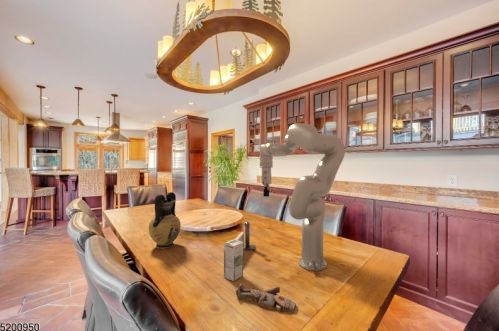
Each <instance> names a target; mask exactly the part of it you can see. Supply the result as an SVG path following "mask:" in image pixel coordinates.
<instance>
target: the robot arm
mask: <svg viewBox="0 0 499 331" xmlns="http://www.w3.org/2000/svg"><path fill="white" fill-rule="evenodd" d="M286 133H287V134H286V135H285V136H284V142H283V143H281V142H267V143H264V144H261V145H260V146H259V168H261V184H262V186H263V193H262V194H263V197H266V198H267V197H270V185H271V184H272V169H273V165H274V164H273V162H274V161H273V159H274V158H273V157H287V156H289V155H292V154H294V153H295V151H296V150H297V149H299V148H300V149H301V150H303V151H304V152H306V153H307V154H314V155H315V154H317V155H323V157H322V158H321V159H320V160H319V161H318V163H317V165H316V168H315V171H314V172H313V174H312V175H304V176H301V177H300V178H299V179H298V180H297V181H296V183H295V186H294V189H293V191H292V195H291V198H290V200H289V204H288V212H289V215H290V216H291V218H293V219H295V220H302V224H301V257H300V258H298V265H299V266H300V267H301V268H302V269H304V270H308V271H315V272H316V271H323V270H325V269H327V267H328V263H327V261H326V260H325V259H324V220H325V215H326V210H327V207H326V203H325V201H324V199H323V198H322V197H325V196H327V195H328V194H329V193H330V190H331V189H332V186H333V184H334V181H335V179H336V176H337V173H338V171H339V169H340V167H341V165H342V162H343V161H344V158H345V156H346V155H345V153H346V148H345V144H344V142H343V141H342V139H341V138H340V137H338V136H337V135H334V134H330V133H319V131H318V128H317V127H315V126H314V125H312V124H308V123H298V122H297V123H296V122H295V123H293V124H291V125H290V126H289V127H288V129H287V132H286Z"/></svg>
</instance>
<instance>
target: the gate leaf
mask: <svg viewBox="0 0 499 331" xmlns="http://www.w3.org/2000/svg"><path fill="white" fill-rule="evenodd" d="M234 240H238V241H241V242H243V249H245V232H244V231H241V232H240V233H238V235H237V236H236V237H235V238H234Z"/></svg>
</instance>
